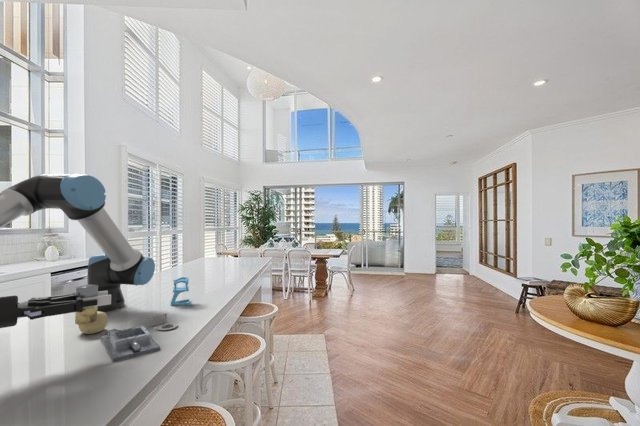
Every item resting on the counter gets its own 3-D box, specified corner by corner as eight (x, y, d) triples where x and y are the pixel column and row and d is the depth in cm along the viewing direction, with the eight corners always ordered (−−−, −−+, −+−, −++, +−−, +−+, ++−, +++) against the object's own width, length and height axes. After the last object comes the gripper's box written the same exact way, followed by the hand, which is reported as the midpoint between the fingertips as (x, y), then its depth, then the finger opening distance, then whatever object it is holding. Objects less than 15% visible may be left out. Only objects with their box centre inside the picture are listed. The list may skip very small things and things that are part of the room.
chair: (170, 302, 140) (171, 276, 140) (190, 300, 143) (190, 275, 143) (170, 307, 133) (170, 280, 133) (190, 305, 136) (191, 278, 136)
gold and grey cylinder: (74, 320, 86) (75, 286, 86) (95, 317, 90) (96, 283, 90) (75, 326, 83) (77, 289, 83) (98, 321, 86) (99, 286, 86)
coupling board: (100, 339, 97) (101, 328, 97) (142, 330, 105) (143, 320, 105) (112, 362, 82) (113, 349, 83) (160, 349, 91) (160, 338, 91)
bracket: (163, 333, 104) (163, 323, 104) (148, 327, 109) (148, 317, 110) (181, 328, 109) (181, 318, 110) (165, 322, 115) (166, 313, 115)
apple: (70, 335, 98) (75, 311, 102) (93, 337, 105) (97, 315, 109) (89, 330, 97) (94, 306, 101) (111, 332, 104) (115, 310, 108)
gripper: (-3, 318, 81) (103, 302, 97) (-10, 340, 67) (114, 317, 83) (-2, 290, 81) (104, 279, 97) (-9, 306, 67) (115, 290, 84)
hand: (109, 297), depth 90 cm, fingers closed on gold and grey cylinder, 5 cm apart
